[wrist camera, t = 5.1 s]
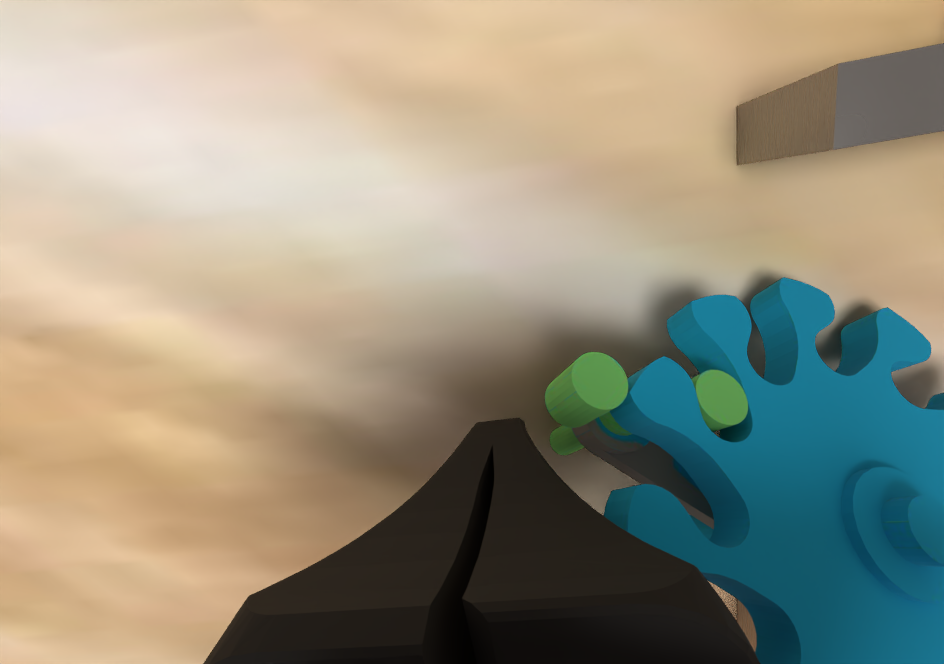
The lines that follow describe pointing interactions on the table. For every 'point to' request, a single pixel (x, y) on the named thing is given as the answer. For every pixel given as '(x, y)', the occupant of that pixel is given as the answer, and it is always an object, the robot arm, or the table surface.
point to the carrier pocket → (843, 122)
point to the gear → (781, 472)
